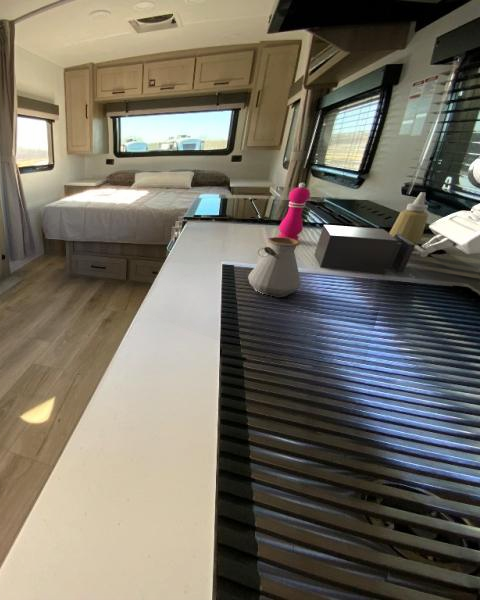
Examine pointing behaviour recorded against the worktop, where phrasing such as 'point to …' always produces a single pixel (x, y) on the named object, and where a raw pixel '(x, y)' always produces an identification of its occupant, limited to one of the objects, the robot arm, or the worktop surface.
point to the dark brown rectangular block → (355, 249)
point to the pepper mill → (294, 213)
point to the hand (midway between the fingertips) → (424, 249)
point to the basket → (404, 253)
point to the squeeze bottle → (412, 220)
